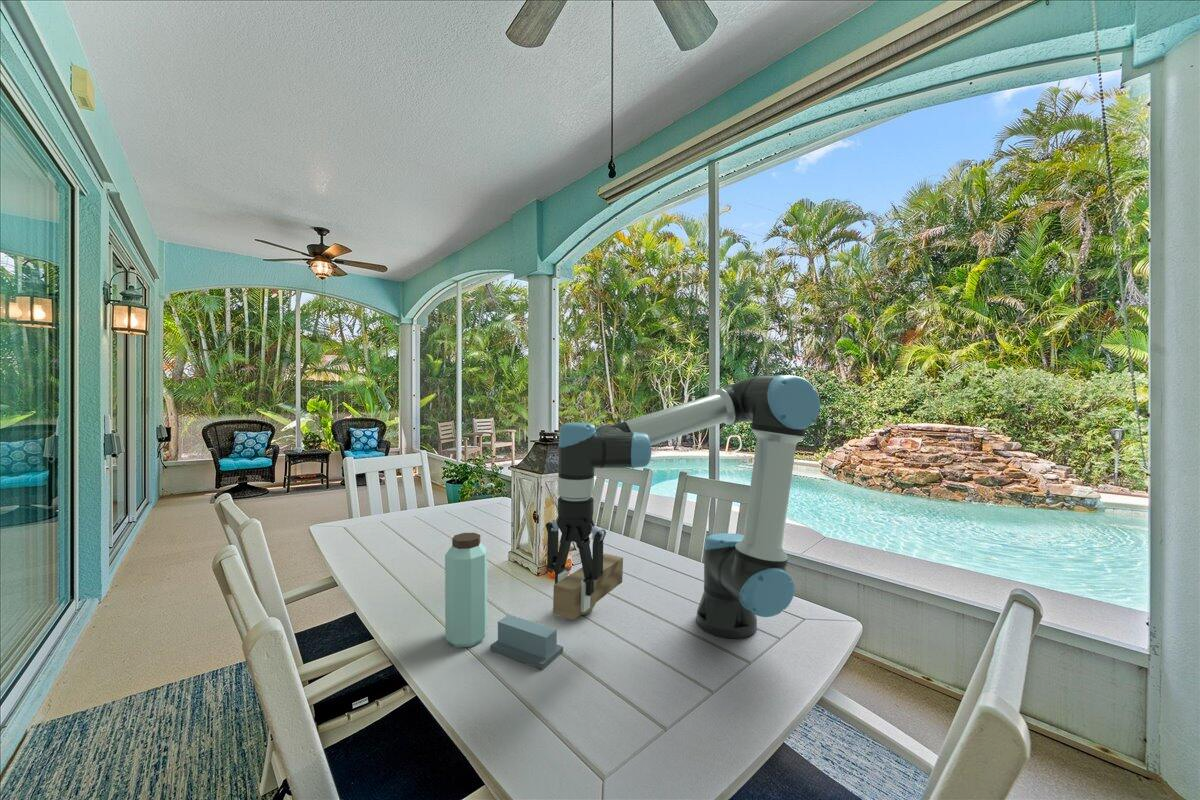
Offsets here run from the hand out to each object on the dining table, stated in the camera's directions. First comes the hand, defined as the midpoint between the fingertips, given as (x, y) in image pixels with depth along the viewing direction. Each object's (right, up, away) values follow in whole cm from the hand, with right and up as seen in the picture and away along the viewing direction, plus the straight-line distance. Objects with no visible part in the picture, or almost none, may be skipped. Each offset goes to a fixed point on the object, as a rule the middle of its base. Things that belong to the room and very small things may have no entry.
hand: (573, 605), depth 100 cm
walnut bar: (+3, -1, +6) cm, 7 cm away
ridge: (-11, -15, +10) cm, 21 cm away
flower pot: (+1, -14, +30) cm, 33 cm away
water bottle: (-27, -15, +15) cm, 34 cm away
